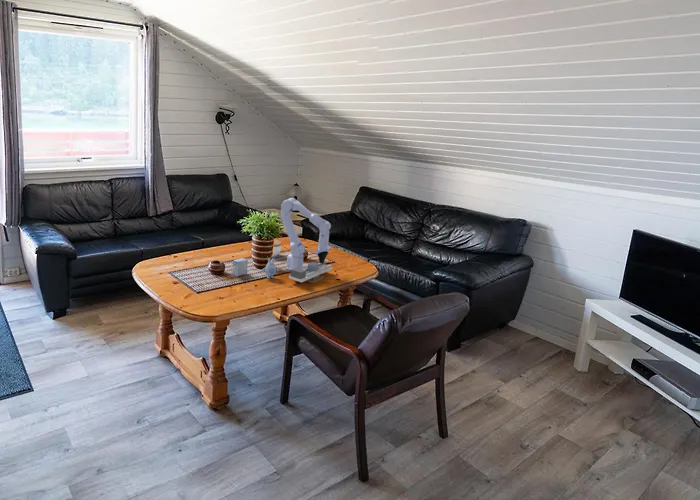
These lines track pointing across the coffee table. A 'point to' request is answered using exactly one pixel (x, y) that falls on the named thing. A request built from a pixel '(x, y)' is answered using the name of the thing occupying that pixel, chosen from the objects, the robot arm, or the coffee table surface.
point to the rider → (313, 266)
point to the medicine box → (239, 267)
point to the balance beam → (309, 273)
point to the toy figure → (270, 268)
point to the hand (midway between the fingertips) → (321, 263)
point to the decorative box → (276, 247)
